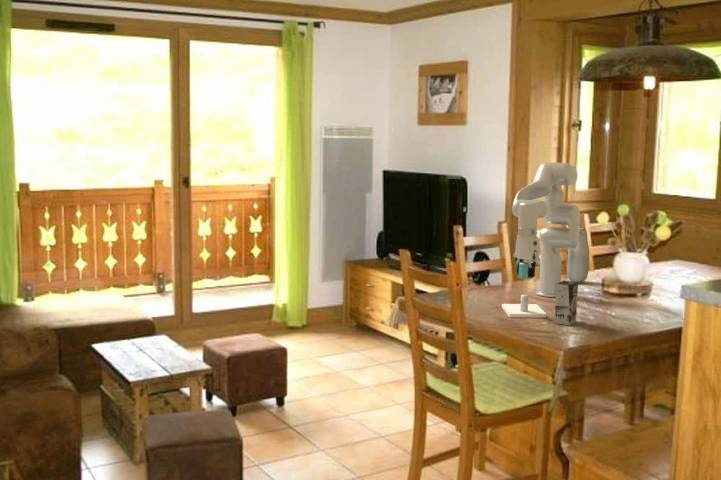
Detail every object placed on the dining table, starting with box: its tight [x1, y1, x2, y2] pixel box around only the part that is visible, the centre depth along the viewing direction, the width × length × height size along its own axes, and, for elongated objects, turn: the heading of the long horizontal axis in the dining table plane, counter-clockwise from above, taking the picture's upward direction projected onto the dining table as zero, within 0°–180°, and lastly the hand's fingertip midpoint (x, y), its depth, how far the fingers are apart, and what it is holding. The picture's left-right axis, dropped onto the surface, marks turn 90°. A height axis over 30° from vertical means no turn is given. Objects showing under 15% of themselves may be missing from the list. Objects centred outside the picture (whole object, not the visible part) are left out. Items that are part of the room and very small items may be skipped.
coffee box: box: [554, 280, 579, 326], centre depth 310 cm, size 9×6×16 cm
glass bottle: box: [566, 226, 590, 284], centre depth 390 cm, size 10×10×28 cm
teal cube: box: [517, 261, 534, 280], centre depth 321 cm, size 6×6×6 cm
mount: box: [501, 294, 547, 319], centre depth 327 cm, size 15×18×8 cm
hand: (525, 275), depth 322 cm, fingers closed on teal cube, 6 cm apart
